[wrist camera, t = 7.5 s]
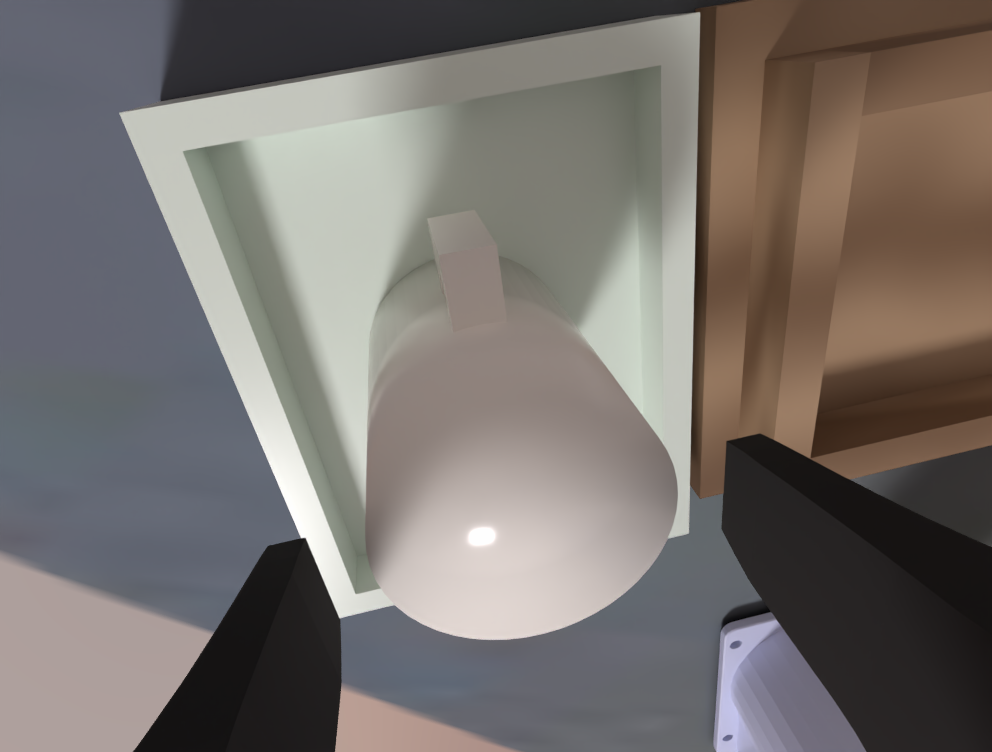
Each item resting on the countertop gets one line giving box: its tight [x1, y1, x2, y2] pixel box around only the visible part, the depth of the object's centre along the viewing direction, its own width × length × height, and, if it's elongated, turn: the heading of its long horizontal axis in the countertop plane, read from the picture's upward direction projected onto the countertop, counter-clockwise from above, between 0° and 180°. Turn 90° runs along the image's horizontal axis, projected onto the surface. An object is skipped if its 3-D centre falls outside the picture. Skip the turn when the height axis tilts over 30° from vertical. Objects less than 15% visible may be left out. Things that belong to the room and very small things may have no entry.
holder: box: [690, 0, 992, 499], centre depth 17 cm, size 14×14×3 cm
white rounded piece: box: [365, 210, 678, 640], centre depth 13 cm, size 7×5×7 cm
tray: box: [120, 12, 700, 618], centre depth 16 cm, size 14×11×2 cm
